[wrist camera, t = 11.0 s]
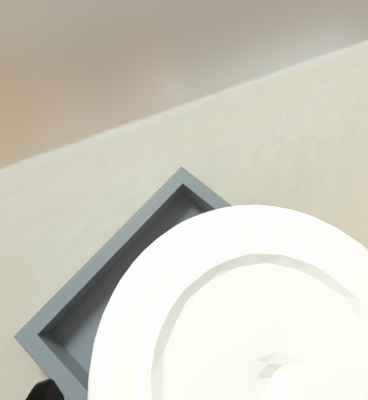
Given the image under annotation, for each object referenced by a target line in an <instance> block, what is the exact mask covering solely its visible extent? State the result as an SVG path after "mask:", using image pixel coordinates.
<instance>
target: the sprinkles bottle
mask: <svg viewBox="0 0 368 400" xmlns="http://www.w3.org/2000/svg"><path fill="white" fill-rule="evenodd" d="M87 400H368V250H367V249H366V248H365V247H364V246H363V245H361V244H360V243H358V242H357V241H356V240H354V239H353V238H351V237H350V236H348V235H347V234H346V233H344V232H343V231H341V230H339V229H338V228H336V227H334V226H332V225H330V224H328V223H326V222H323V221H321V220H319V219H317V218H315V217H312V216H310V215H307V214H304V213H301V212H298V211H294V210H290V209H286V208H279V207H274V206H264V205H239V206H232V207H224V208H220V209H216V210H212V211H208V212H205V213H203V214H200V215H197V216H195V217H192V218H190V219H188V220H185V221H183V222H181V223H180V224H178V225H176V226H175V227H173V228H172V229H170V230H169V231H167V232H166V233H164V234H163V235H162V236H160V237H159V238H158V239H156V240H155V241H154V242H153V243H152V244H151V245H150V246H149V247H147V248H146V249H145V250H144V251H143V252H142V253H141V254H140V255H139V256H138V258H137V259H136V260H135V261H134V262H133V263H132V265H131V266H130V267H129V269H128V270H127V272H126V273H125V274H124V276H123V277H122V278H121V280H120V281H119V283H118V285H117V287H116V288H115V290H114V292H113V294H112V296H111V298H110V300H109V302H108V304H107V307H106V309H105V311H104V313H103V315H102V318H101V321H100V324H99V327H98V330H97V334H96V338H95V341H94V345H93V351H92V358H91V364H90V371H89V378H88V399H87Z"/></svg>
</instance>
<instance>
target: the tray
mask: <svg viewBox="0 0 368 400" xmlns="http://www.w3.org/2000/svg"><path fill="white" fill-rule="evenodd" d="M224 207H232V206H231V205H230V204H228V203H227V202H226V201H225V200H223V199H222V198H221V197H220V196H218V195H217V194H216V193H214V192H213V191H212V190H211V189H209V188H208V187H207V186H206V185H204V184H203V183H202V182H201V181H199V180H198V179H197V178H195V177H194V176H193V175H192V174H190V173H189V172H188V171H187V170H185V169H184V168H183V167H181V168H180V169H179V170H178V171H177V172H176V173H175V174H174V175H173V176H172V177H171V178H170V179H169V180H168V181H167V182H166V183H165V184H164V185H163V186H162V187H161V188H160V189H159V190H158V191H157V192H156V193H155V194H154V195H153V196H152V197H151V198H150V199H149V200H148V201H147V202H146V203H145V204H144V205H143V206H142V207H141V208H140V209H139V210H138V211H137V212H136V213H135V214H134V215H133V216H132V217H131V218H130V219H129V220H128V221H127V222H126V223H125V224H124V225H123V226H122V227H121V228H120V229H119V230H118V231H117V232H116V233H115V234H114V235H113V237H112V238H111V239H110V240H109V241H108V242H107V243H106V244H105V245H104V246H103V247H102V248H101V249H100V250H99V251H98V252H97V253H96V254H95V255H94V256H93V257H92V258H91V259H90V260H89V261H88V262H87V263H86V264H85V265H84V266H83V267H82V268H81V269H80V270H79V271H78V272H77V273H76V274H75V275H74V276H73V277H72V278H71V279H70V280H69V281H68V282H67V283H66V284H65V285H64V286H63V287H62V288H61V289H60V290H59V291H58V292H57V293H56V294H55V295H54V296H53V297H52V298H51V299H50V300H49V301H48V302H47V303H46V304H45V305H44V306H43V307H42V308H41V310H40V311H39V312H38V313H37V314H36V315H35V316H34V317H33V318H32V319H31V320H30V321H29V322H28V323H27V324H26V325H25V326H24V327H23V328H22V329H21V330H20V331H19V332H18V333H17V334H16V335H15V336H14V338H15V339H16V340H17V341H18V342H19V343H20V345H21V346H22V347H23V348H24V349H25V350H26V352H27V353H28V354H29V355H30V356H31V357H32V359H33V360H34V361H35V362H36V363H37V364H38V365H39V367H40V368H41V369H42V370H43V371H44V372H45V374H46V375H47V376H48V377H49V378H50V379H53V380H54V381H55V383H56V384H57V386H58V387H59V389H60V391H61V392H62V393H63V394H64V396H65V397H66V398H67V399H68V400H87V399H88V378H89V371H90V364H91V358H92V351H93V345H94V341H95V338H96V334H97V330H98V327H99V324H100V321H101V318H102V315H103V313H104V311H105V309H106V307H107V304H108V302H109V300H110V298H111V296H112V294H113V292H114V290H115V288H116V287H117V285H118V283H119V281H120V280H121V278H122V277H123V276H124V274H125V273H126V272H127V270H128V269H129V267H130V266H131V265H132V263H133V262H134V261H135V260H136V259H137V258H138V256H139V255H140V254H141V253H142V252H143V251H144V250H145V249H146V248H147V247H149V246H150V245H151V244H152V243H153V242H154V241H155V240H156V239H158V238H159V237H160V236H162V235H163V234H164V233H166V232H167V231H169V230H170V229H172V228H173V227H175V226H176V225H178V224H180V223H181V222H183V221H185V220H188V219H190V218H192V217H195V216H197V215H200V214H203V213H205V212H208V211H212V210H216V209H220V208H224Z"/></svg>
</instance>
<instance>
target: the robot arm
mask: <svg viewBox="0 0 368 400" xmlns="http://www.w3.org/2000/svg"><path fill="white" fill-rule="evenodd" d="M26 400H64V396H63V394H62V392H61V391H60V389H59V387H58V386H57V384H56V383H55V381H54V380H53V379H47V380H44V381H41V382H39V383H37V384H36V385H35V386H34V387H33V389H32V390H31V392H30V393H29V395H28V396H27V398H26Z"/></svg>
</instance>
